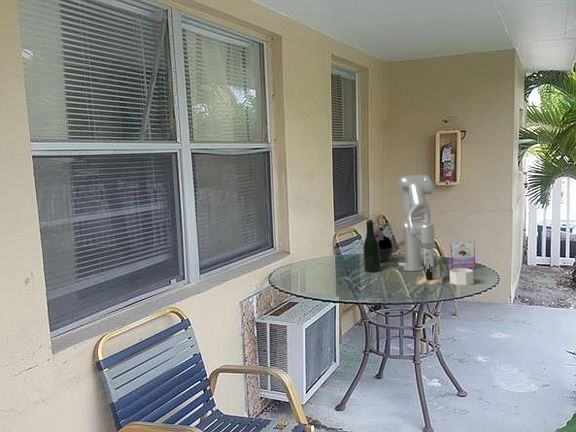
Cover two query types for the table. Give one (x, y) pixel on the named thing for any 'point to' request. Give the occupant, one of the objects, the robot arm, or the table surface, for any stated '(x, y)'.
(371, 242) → the beer bottle
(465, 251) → the candy box
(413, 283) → the mat
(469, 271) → the bowl
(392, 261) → the table surface
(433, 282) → the lid
